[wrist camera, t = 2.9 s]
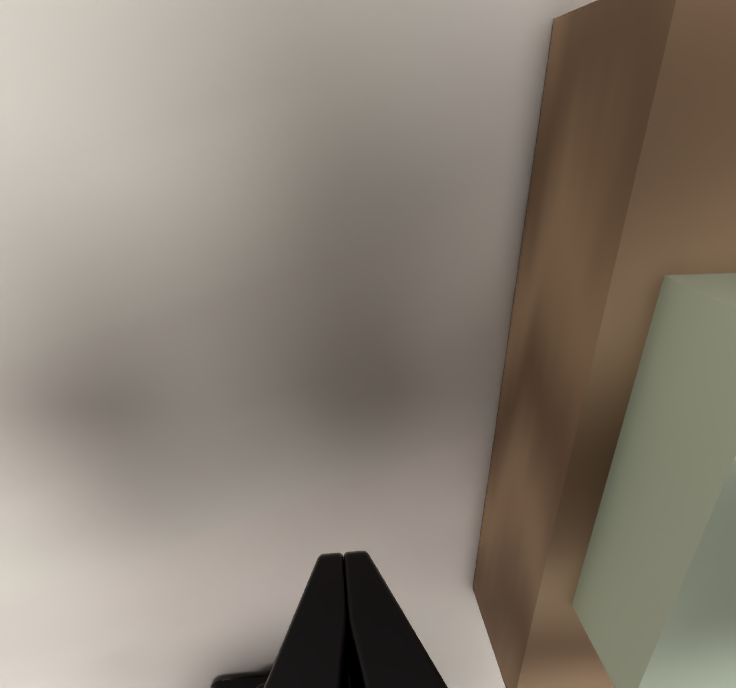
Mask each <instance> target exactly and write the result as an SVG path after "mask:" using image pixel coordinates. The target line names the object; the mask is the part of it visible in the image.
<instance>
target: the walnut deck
mask: <svg viewBox="0 0 736 688" xmlns="http://www.w3.org/2000/svg"><path fill="white" fill-rule="evenodd" d="M720 273H736V0H597V1H595V2H593V3H590V4H588V5H586V6H583V7H581V8H578V9H576V10H574V11H571V12H569V13H567V14H564V15H562V16H560V17H557V18H555V19H554V22H553V30H552V37H551V44H550V51H549V58H548V65H547V72H546V79H545V86H544V93H543V100H542V107H541V114H540V121H539V128H538V135H537V142H536V149H535V156H534V163H533V170H532V177H531V184H530V191H529V198H528V205H527V212H526V219H525V226H524V233H523V240H522V247H521V254H520V261H519V268H518V275H517V282H516V289H515V296H514V303H513V311H512V318H511V325H510V332H509V339H508V346H507V353H506V360H505V367H504V374H503V381H502V388H501V395H500V402H499V409H498V416H497V423H496V430H495V437H494V444H493V451H492V458H491V465H490V472H489V479H488V486H487V493H486V500H485V507H484V514H483V521H482V528H481V535H480V542H479V549H478V556H477V563H476V570H475V577H474V584H473V591H474V594H475V597H476V600H477V603H478V606H479V609H480V612H481V615H482V618H483V621H484V624H485V627H486V630H487V633H488V636H489V639H490V642H491V645H492V648H493V651H494V654H495V657H496V660H497V663H498V666H499V669H500V672H501V675H502V678H503V681H504V684H505V687H506V688H615V686H614V685H613V683H612V681H611V679H610V677H609V675H608V673H607V671H606V669H605V667H604V666H603V664H602V662H601V660H600V658H599V656H598V654H597V652H596V650H595V648H594V647H593V645H592V643H591V641H590V639H589V637H588V635H587V633H586V631H585V629H584V628H583V626H582V624H581V622H580V620H579V618H578V616H577V614H576V612H575V610H574V609H573V607H572V602H573V599H574V595H575V592H576V588H577V585H578V581H579V578H580V574H581V570H582V567H583V563H584V560H585V556H586V553H587V549H588V545H589V542H590V538H591V535H592V531H593V528H594V524H595V521H596V517H597V513H598V510H599V506H600V503H601V499H602V496H603V492H604V488H605V485H606V481H607V478H608V474H609V471H610V467H611V464H612V460H613V456H614V453H615V449H616V446H617V442H618V439H619V435H620V432H621V428H622V424H623V421H624V417H625V414H626V410H627V407H628V403H629V399H630V396H631V392H632V389H633V385H634V382H635V378H636V375H637V371H638V367H639V364H640V360H641V357H642V353H643V350H644V346H645V342H646V339H647V335H648V332H649V328H650V325H651V321H652V318H653V314H654V310H655V307H656V303H657V300H658V296H659V293H660V289H661V286H662V282H663V278H664V275H687V274H720Z"/></svg>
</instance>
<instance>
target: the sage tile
mask: <svg viewBox="0 0 736 688" xmlns="http://www.w3.org/2000/svg"><path fill="white" fill-rule="evenodd" d="M572 607H573V609H574V610H575V612H576V614H577V616H578V618H579V620H580V622H581V624H582V626H583V628H584V629H585V631H586V633H587V635H588V637H589V639H590V641H591V643H592V645H593V647H594V648H595V650H596V652H597V654H598V656H599V658H600V660H601V662H602V664H603V666H604V667H605V669H606V671H607V673H608V675H609V677H610V679H611V681H612V683H613V685H614V686H615V688H736V273H720V274H687V275H664V278H663V282H662V286H661V289H660V293H659V296H658V300H657V303H656V307H655V310H654V314H653V318H652V321H651V325H650V328H649V332H648V335H647V339H646V342H645V346H644V350H643V353H642V357H641V360H640V364H639V367H638V371H637V375H636V378H635V382H634V385H633V389H632V392H631V396H630V399H629V403H628V407H627V410H626V414H625V417H624V421H623V424H622V428H621V432H620V435H619V439H618V442H617V446H616V449H615V453H614V456H613V460H612V464H611V467H610V471H609V474H608V478H607V481H606V485H605V488H604V492H603V496H602V499H601V503H600V506H599V510H598V513H597V517H596V521H595V524H594V528H593V531H592V535H591V538H590V542H589V545H588V549H587V553H586V556H585V560H584V563H583V567H582V570H581V574H580V578H579V581H578V585H577V588H576V592H575V595H574V599H573V602H572Z"/></svg>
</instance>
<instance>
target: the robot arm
mask: <svg viewBox="0 0 736 688" xmlns="http://www.w3.org/2000/svg"><path fill="white" fill-rule="evenodd" d="M210 688H448V687H447V686H446V684H445V682H444V681H443V679H442V677H441V675H440V674H439V672H438V670H437V669H436V667H435V665H434V664H433V662H432V660H431V659H430V657H429V655H428V653H427V652H426V650H425V648H424V647H423V645H422V643H421V642H420V640H419V638H418V637H417V635H416V633H415V631H414V630H413V628H412V626H411V625H410V623H409V621H408V620H407V618H406V616H405V615H404V613H403V611H402V609H401V608H400V606H399V604H398V603H397V601H396V599H395V598H394V596H393V594H392V593H391V591H390V589H389V588H388V586H387V584H386V582H385V581H384V579H383V577H382V576H381V574H380V572H379V571H378V569H377V567H376V566H375V564H374V562H373V560H372V559H371V557H370V555H369V554H368V553H367V552H366V551H354V552H346V553H345V554H344V557H343V555H342V554H341V553H329V554H321V555H320V556H319V557H318V559H317V561H316V564H315V566H314V569H313V571H312V573H311V576H310V578H309V581H308V583H307V585H306V588H305V590H304V593H303V595H302V597H301V600H300V602H299V605H298V607H297V609H296V612H295V614H294V617H293V619H292V621H291V624H290V626H289V629H288V631H287V633H286V636H285V638H284V641H283V643H282V645H281V648H280V650H279V653H278V655H277V657H276V660H275V662H274V665H273V667H272V669H271V672H270V674H269V676H263V677H253V678H243V679H233V680H224V681H218V682H215V683H214V684H212V685H211V687H210Z"/></svg>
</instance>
